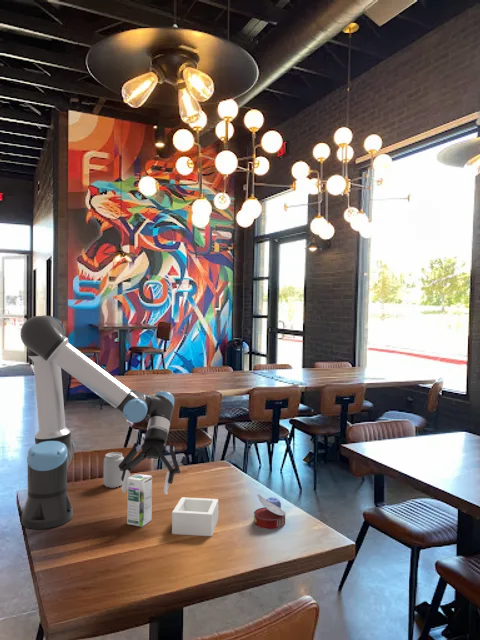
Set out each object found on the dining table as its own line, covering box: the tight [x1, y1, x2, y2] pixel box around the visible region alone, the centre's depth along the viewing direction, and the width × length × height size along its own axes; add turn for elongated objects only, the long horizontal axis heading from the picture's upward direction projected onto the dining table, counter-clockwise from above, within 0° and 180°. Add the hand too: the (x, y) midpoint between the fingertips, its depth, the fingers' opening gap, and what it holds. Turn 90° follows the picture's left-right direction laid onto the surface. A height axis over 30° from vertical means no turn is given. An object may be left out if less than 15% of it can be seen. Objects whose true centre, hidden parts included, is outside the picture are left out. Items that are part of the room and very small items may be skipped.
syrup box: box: [126, 473, 153, 528], centre depth 154 cm, size 6×6×14 cm
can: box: [103, 451, 125, 489], centre depth 187 cm, size 8×8×12 cm
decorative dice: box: [266, 497, 282, 510], centre depth 164 cm, size 4×4×4 cm
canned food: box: [253, 493, 286, 530], centre depth 155 cm, size 11×10×10 cm
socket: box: [171, 496, 219, 537], centre depth 151 cm, size 12×12×6 cm
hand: (144, 492), depth 155 cm, fingers open, 13 cm apart
